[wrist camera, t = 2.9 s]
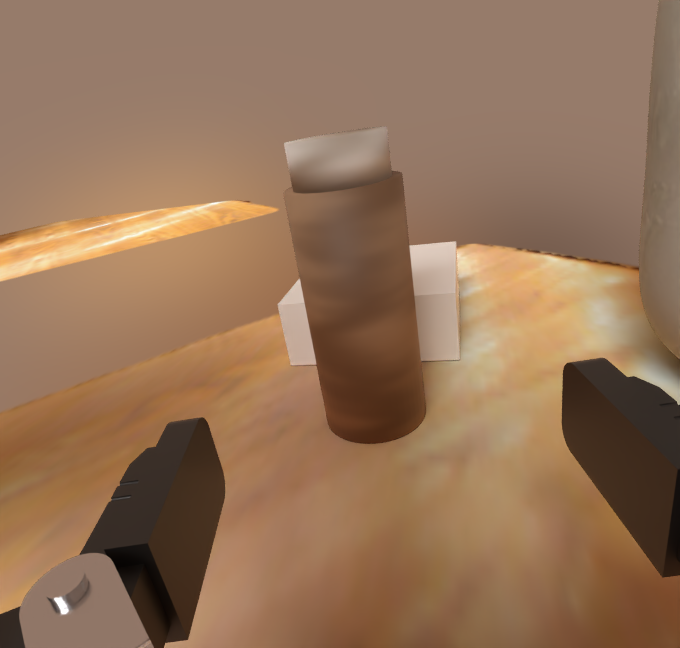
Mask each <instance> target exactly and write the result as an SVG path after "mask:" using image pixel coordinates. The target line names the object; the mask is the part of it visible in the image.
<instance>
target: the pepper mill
mask: <svg viewBox="0 0 680 648" xmlns="http://www.w3.org/2000/svg"><path fill="white" fill-rule="evenodd" d="M284 145H285V151H286V156H287V162H288V167H289V172H290V177H291V182H292V187H291V188H289V189H287V190H285V191H284V192H283V195H284V200H285V205H286V210H287V216H288V221H289V226H290V231H291V236H292V241H293V246H294V252H295V257H296V262H297V267H298V272H299V277H300V282H301V287H302V293H303V298H304V303H305V308H306V313H307V318H308V323H309V329H310V334H311V339H312V344H313V349H314V354H315V359H316V364H317V370H318V375H319V380H320V385H321V390H322V395H323V400H324V405H325V411H326V416H327V421H328V425H329V427H330V429H331V430H332V431H333V432H334V433H335V434H336V435H338V436H339V437H341V438H343V439H345V440H348V441H352V442H357V443H367V444H370V443H382V442H387V441H391V440H395V439H398V438H400V437H403V436H405V435H407V434H409V433H410V432H412V431H413V430H414V429H416V428H417V427H418V426H419V425H420V424H421V422H422V421H423V419H424V417H425V413H426V407H425V397H424V387H423V377H422V367H421V357H420V347H419V337H418V327H417V317H416V307H415V297H414V287H413V277H412V267H411V257H410V247H409V237H408V227H407V217H406V207H405V197H404V186H403V178H402V173H401V172H396V171H392V170H391V161H390V151H389V142H388V133H387V127H385V126H384V127H373V128H365V129H358V130H351V131H344V132H338V133H332V134H326V135H321V136H315V137H310V138H305V139H300V140H295V141H291V142H287V143H285V144H284Z"/></svg>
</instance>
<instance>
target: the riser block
mask: <svg viewBox="0 0 680 648" xmlns="http://www.w3.org/2000/svg"><path fill="white" fill-rule="evenodd" d="M409 247H410V257H411V267H412V277H413V287H414V297H415V307H416V317H417V327H418V337H419V347H420V357H421V361H442V360H460V320H459V282H458V266H457V250H456V242H445V243H434V244H423V245H412V246H409ZM278 309H279V314H280V318H281V323H282V327H283V332H284V337H285V341H286V346H287V350H288V355H289V359H290V364H291V365H317V364H316V359H315V354H314V349H313V344H312V339H311V334H310V329H309V323H308V318H307V313H306V308H305V303H304V298H303V293H302V287H301V282H300V279H299V280H298V281H297V282H296V283H295V285H294V286H293V287H292V288H291V290H290V291H289V292H288V293H287V294H286V295H285V296H284V298H283V299H282V300H281V301H280V302H279V304H278Z"/></svg>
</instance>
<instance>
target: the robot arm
mask: <svg viewBox="0 0 680 648" xmlns="http://www.w3.org/2000/svg"><path fill="white" fill-rule="evenodd" d="M562 429H563V434H564V438H565V441H566V444H567V446H568V448H569V450H570V451H571V453H572V454H573V456H574V457H575V458H576V460H577V461H578V462H579V464H580V465H581V467H582V468H583V469H584V471H585V472H586V473H587V475H588V476H589V478H590V479H591V480H592V482H593V483H594V484H595V486H596V487H597V488H598V490H599V491H600V493H601V494H602V495H603V497H604V498H605V499H606V501H607V502H608V504H609V505H610V506H611V508H612V509H613V510H614V512H615V513H616V514H617V516H618V517H619V519H620V520H621V521H622V523H623V524H624V525H625V527H626V528H627V530H628V531H629V532H630V534H631V535H632V536H633V538H634V539H635V540H636V542H637V543H638V545H639V546H640V547H641V549H642V550H643V551H644V553H645V554H646V556H647V557H648V558H649V560H650V561H651V562H652V564H653V565H654V566H655V568H656V569H657V571H658V572H659V573H660V575H661V576H662V577H670V576H677V575H680V405H678V404H677V401H675V400H674V399H673V398H672V397H671V396H669V395H668V394H667V393H666V392H664V391H663V390H662V389H661V388H659V387H657V386H655V385H653V384H651V383H648V382H646V381H644V380H641V379H639V378H637V377H634V376H633V377H626V376H625V375H624V374H623V373H622V372H621V371H619V370H618V369H617V368H616V367H615V366H614V365H612V364H611V363H610V362H609V361H608V360H606V359H605V358H597V359H591V360H584V361H577V362H571V363H567V364H566V365H565V366H564V370H563V391H562ZM224 498H225V480H224V474H223V470H222V467H221V464H220V460H219V457H218V454H217V451H216V448H215V444H214V441H213V438H212V435H211V432H210V428H209V425H208V423H207V421H206V420H205V419H204V418H203V417H201V418H194V419H188V420H181V421H174V422H170V423H168V424H167V426H166V428H165V430H164V432H163V434H162V436H161V438H160V440H159V441H158V443H157V445H156V447H151V448H147V449H146V450H145V451H144V452H143V453H142V454H141V455H139V456H138V457H137V458H136V459H135V460H134V461H133V462H132V463H131V464H130V465H129V467H128V469H127V470H126V472H125V474H124V476H123V478H122V479H121V481H120V486H118V487H117V488H116V490H115V492H114V494H113V496H112V497H111V499H112V500H111V502H109V503H108V505H107V506H106V508H105V510H104V512H103V514H102V515H101V517H100V519H99V521H98V523H97V524H96V526H95V528H94V530H93V532H92V533H91V535H90V537H89V539H88V541H87V542H86V544H85V546H84V548H83V550H82V551H81V553H80V555H79V556H75V557H73V558H70V559H68V560H66V561H64V562H62V563H60V564H59V565H57V566H55V567H54V568H52V569H51V570H50V571H48V572H47V573H46V574H45V575H43V576H42V577H41V578H40V579H39V580H38V581H37V582H36V583H35V584H34V585H33V586H32V588H31V589H30V590H29V592H28V593H27V595H26V596H25V598H24V600H23V602H22V604H21V606H20V607H18V608H15V609H13V610H10V611H8V612H5V613H3V614H0V648H164V645H165V643H168V642H175V641H183V640H188V638H189V634H190V630H191V626H192V622H193V619H194V615H195V611H196V607H197V603H198V599H199V595H200V592H201V588H202V584H203V580H204V576H205V572H206V568H207V565H208V561H209V557H210V553H211V549H212V545H213V542H214V538H215V534H216V530H217V526H218V522H219V518H220V515H221V511H222V507H223V503H224Z"/></svg>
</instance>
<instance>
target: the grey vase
mask: <svg viewBox="0 0 680 648" xmlns="http://www.w3.org/2000/svg"><path fill="white" fill-rule="evenodd" d="M639 282H640V292H641V298H642V302H643V306H644V310H645V313H646V315H647V318H648V320H649V322H650V324H651V326H652V328H653V330H654V332H655V333H656V335H657V336H658V338H659V339H660V340H661V341H662V343H663V344H664V345H665V346H666V347H667V348H668V349H669V350H670V351H671V352H672V353H673V354H674V355H675V356H676V357H677V358H678V359H680V0H659V4H658V11H657V18H656V27H655V36H654V47H653V57H652V70H651V83H650V96H649V114H648V133H647V151H646V169H645V180H644V193H643V206H642V217H641V230H640V246H639Z"/></svg>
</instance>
